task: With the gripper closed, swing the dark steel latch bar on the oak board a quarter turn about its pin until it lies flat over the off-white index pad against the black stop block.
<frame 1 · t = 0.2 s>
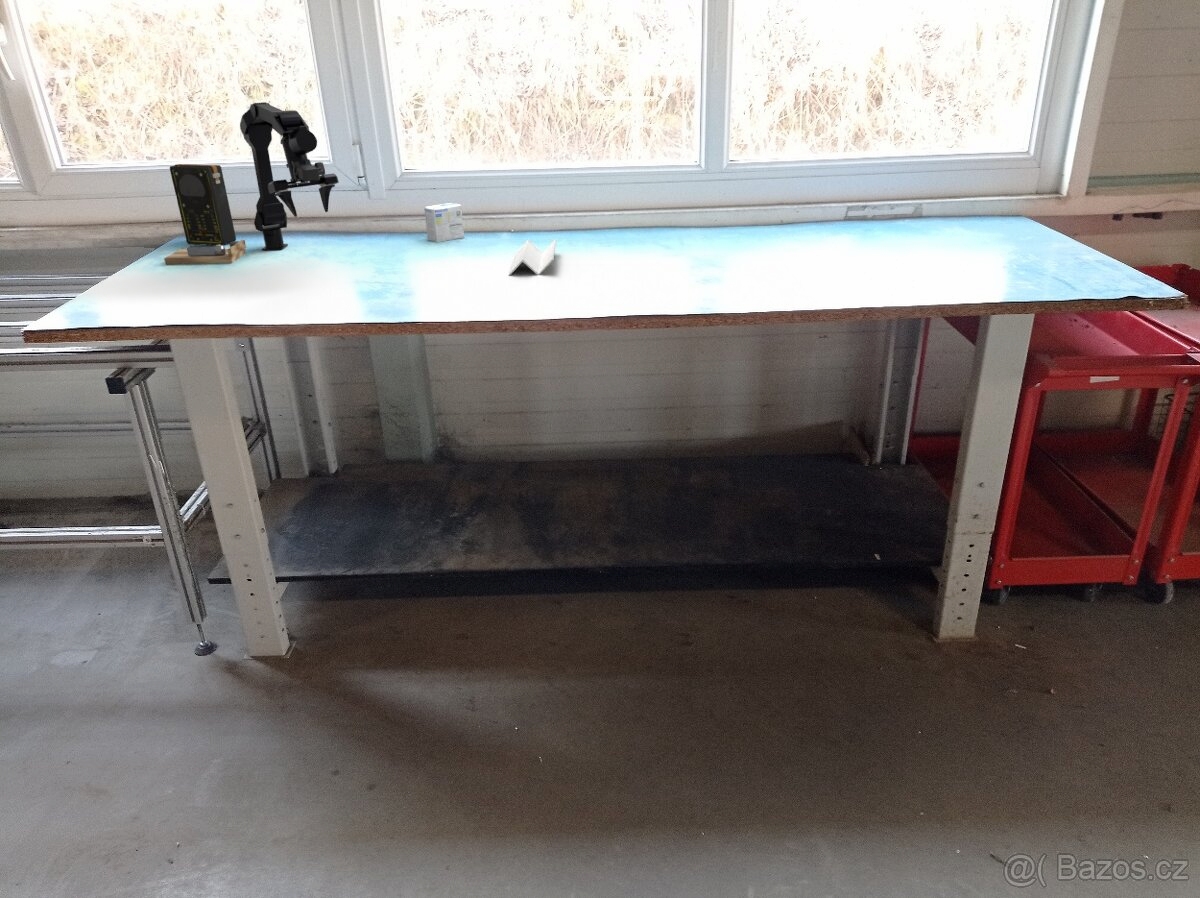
hand: (311, 214, 244), 15 cm above the workbench, tool pointing down, fingers open, 9 cm apart
z bracket: (533, 265, 250), on the workbench
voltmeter: (212, 243, 283), on the workbench
door board: (206, 259, 263), on the workbench
light bulb box: (445, 239, 283), on the workbench
latch bar: (206, 249, 258), point 4 cm above the workbench, hinge at 90.0°
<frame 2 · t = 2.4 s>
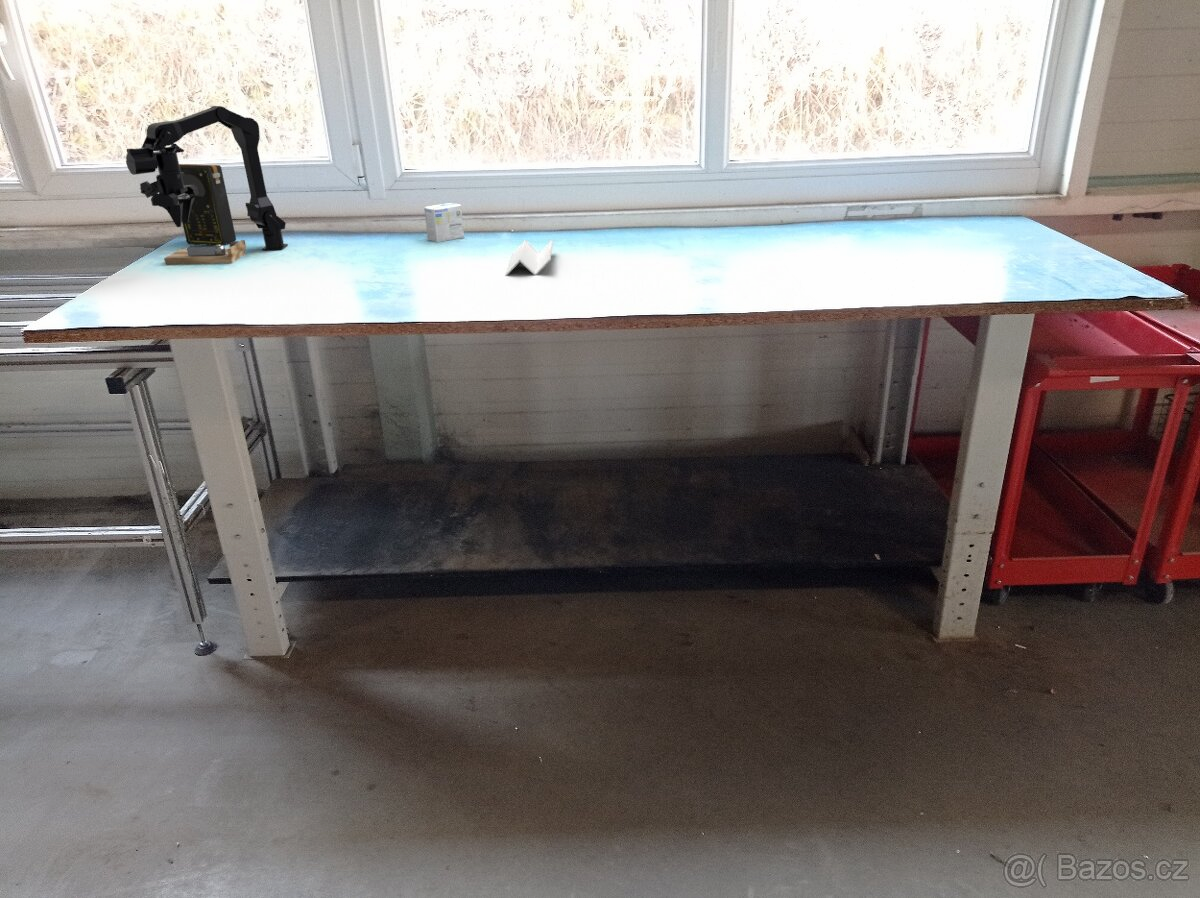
hand: (182, 225, 251), 12 cm above the workbench, tool pointing down, fingers open, 5 cm apart
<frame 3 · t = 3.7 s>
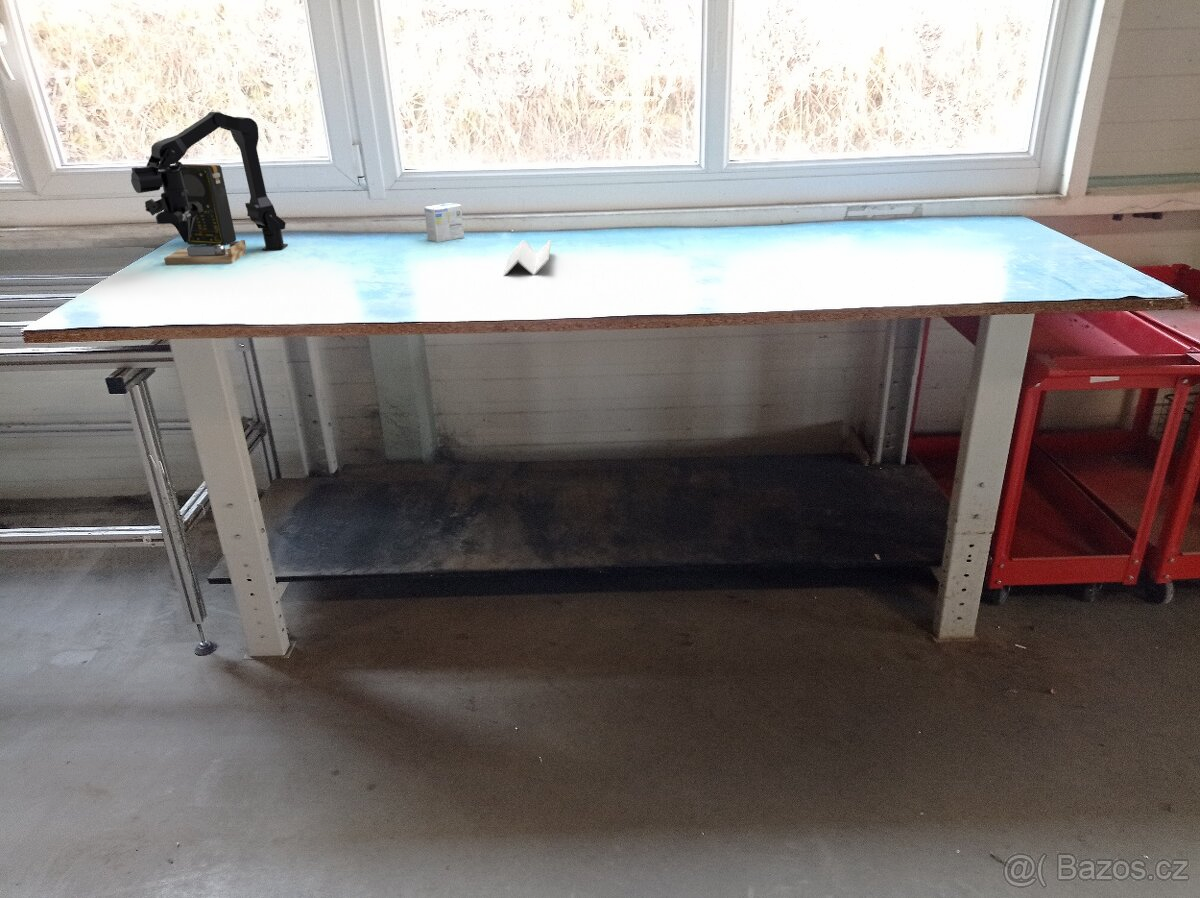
hand: (186, 242, 253), 7 cm above the workbench, tool pointing down, fingers closed
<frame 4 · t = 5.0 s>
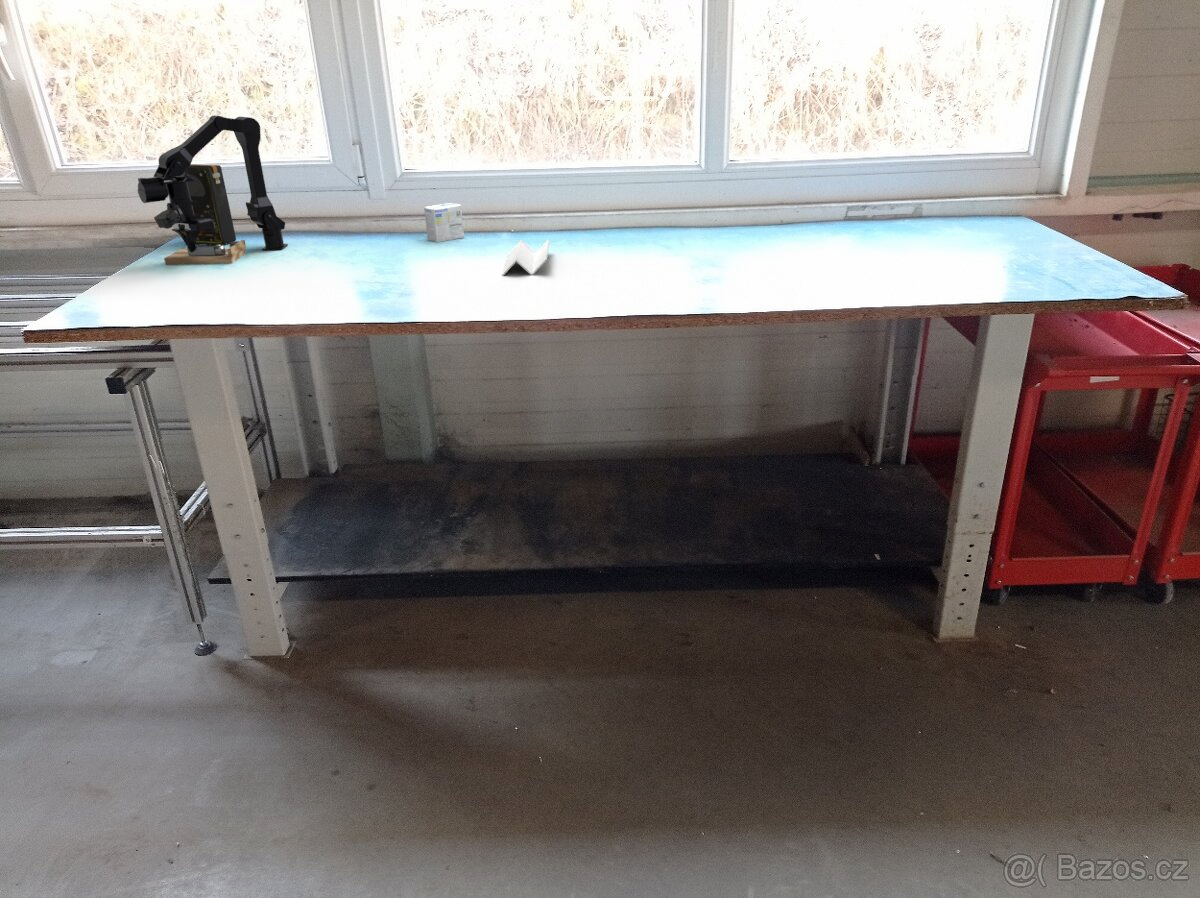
hand: (192, 251, 256), 4 cm above the workbench, tool pointing down, fingers closed, pressing on latch bar
latch bar: (206, 249, 258), point 4 cm above the workbench, hinge at 88.5°, touching gripper
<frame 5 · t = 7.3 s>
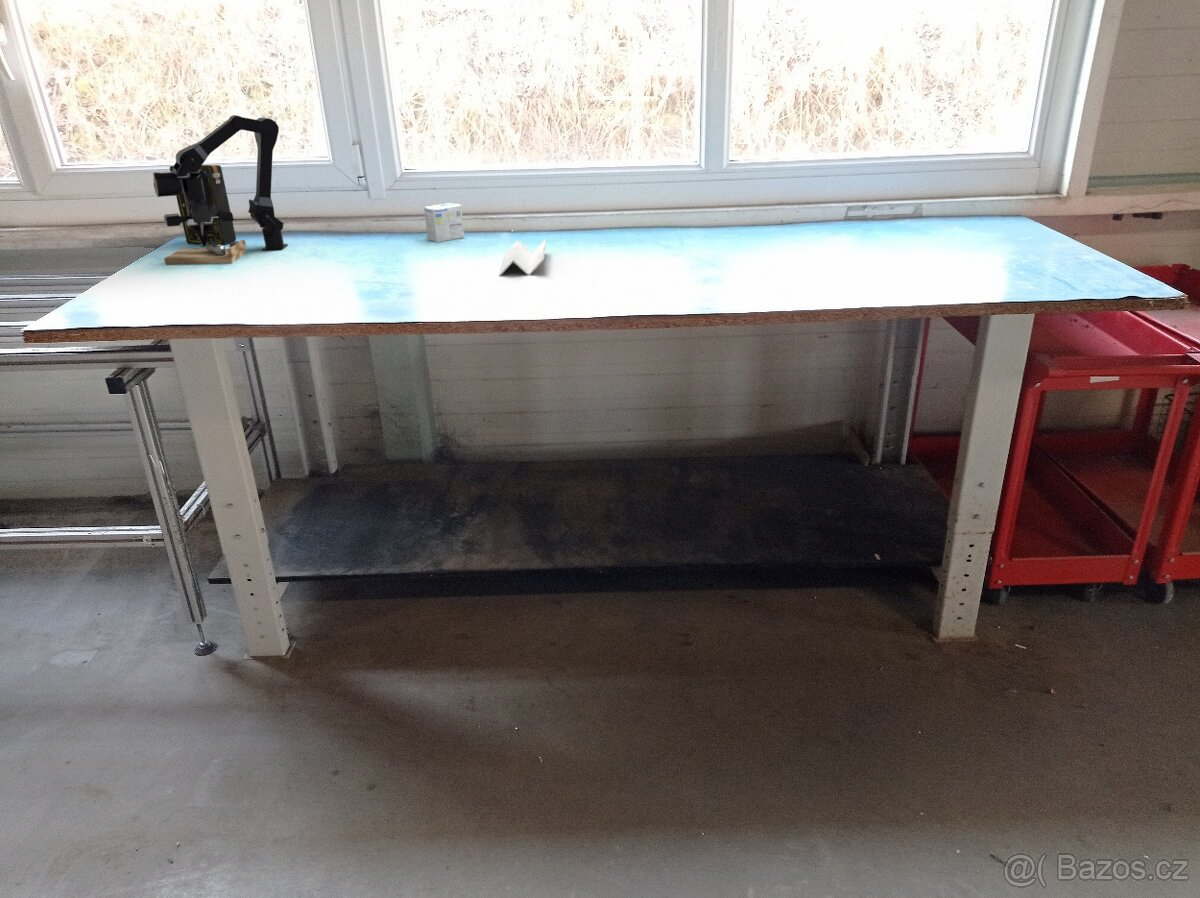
hand: (204, 246, 262), 4 cm above the workbench, tool pointing down, fingers closed
latch bar: (215, 247, 261), point 4 cm above the workbench, hinge at 39.3°, touching gripper
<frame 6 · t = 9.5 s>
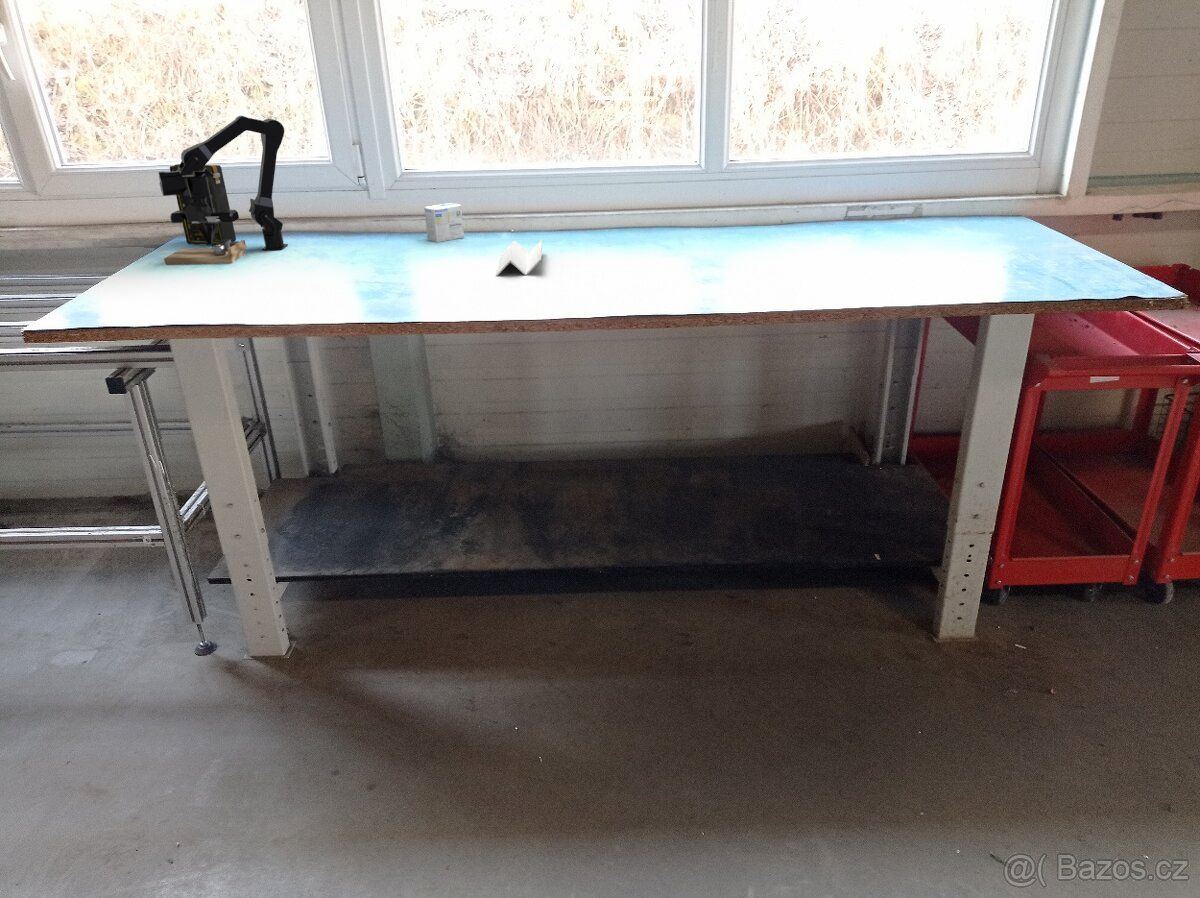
hand: (210, 244, 264), 4 cm above the workbench, tool pointing down, fingers closed
latch bar: (222, 246, 262), point 4 cm above the workbench, hinge at 5.0°
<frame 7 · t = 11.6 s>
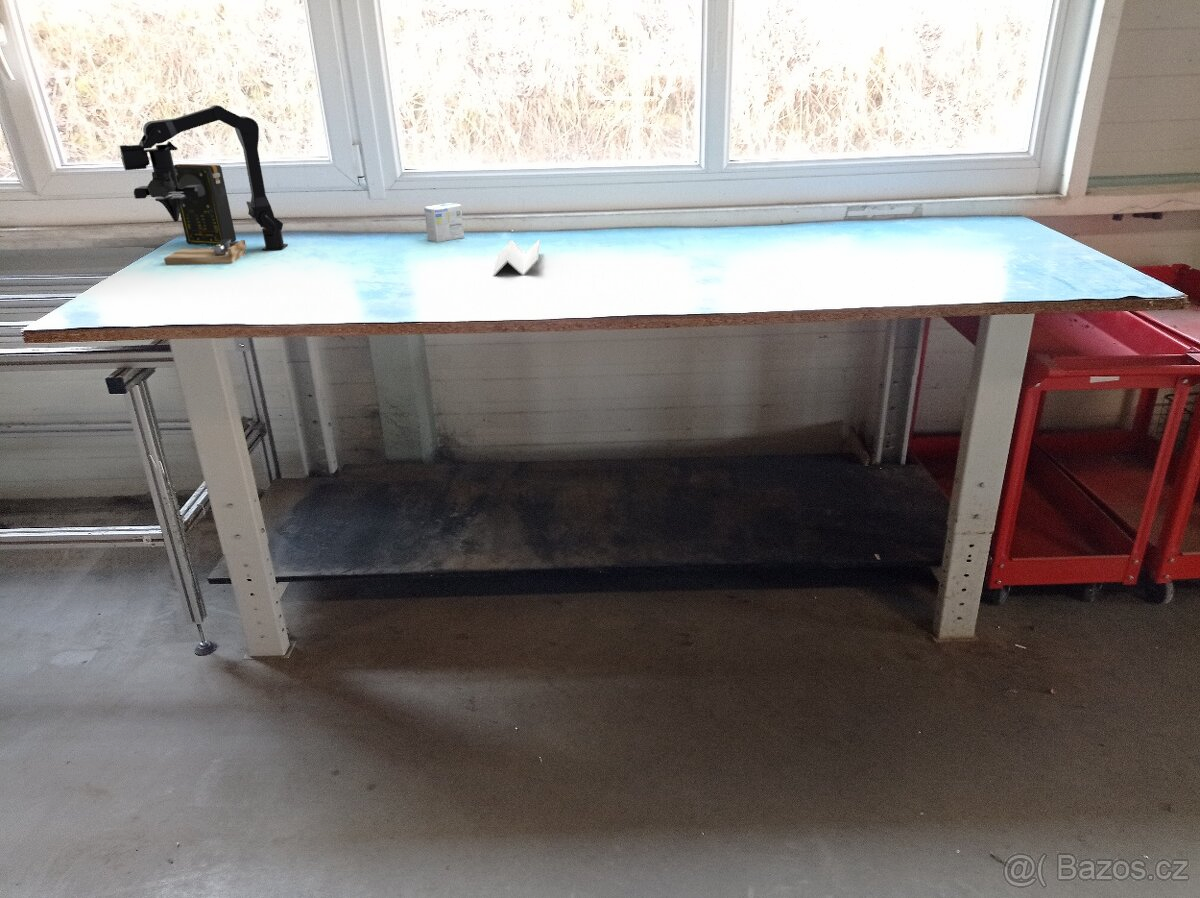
hand: (176, 221, 256), 12 cm above the workbench, tool pointing down, fingers closed
at the end: latch bar at +5° (first picture: +90°); the gripper is holding nothing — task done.
